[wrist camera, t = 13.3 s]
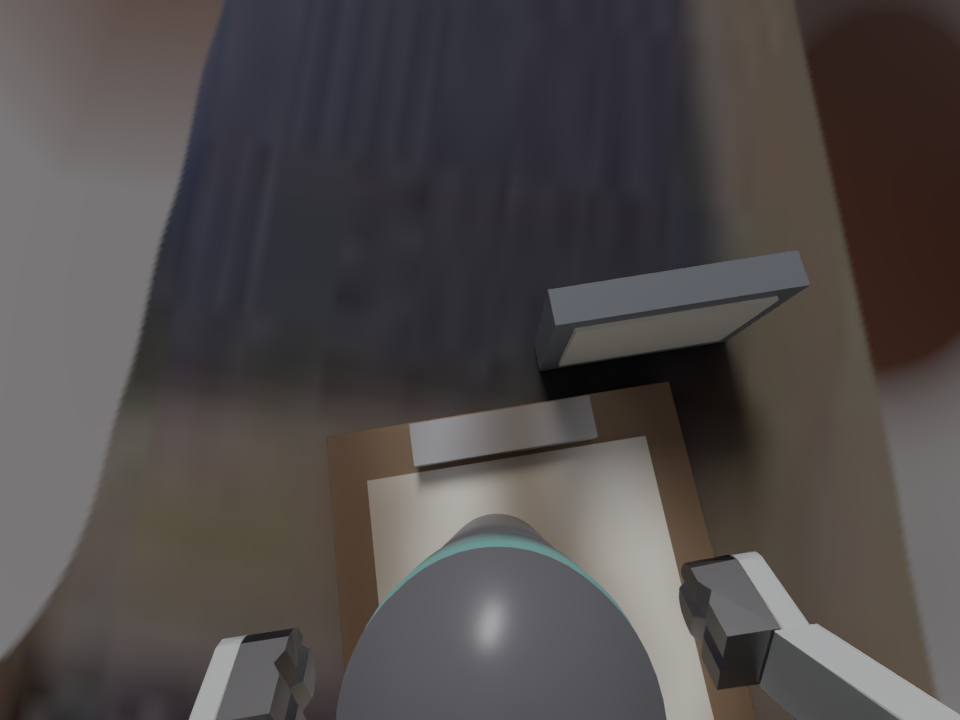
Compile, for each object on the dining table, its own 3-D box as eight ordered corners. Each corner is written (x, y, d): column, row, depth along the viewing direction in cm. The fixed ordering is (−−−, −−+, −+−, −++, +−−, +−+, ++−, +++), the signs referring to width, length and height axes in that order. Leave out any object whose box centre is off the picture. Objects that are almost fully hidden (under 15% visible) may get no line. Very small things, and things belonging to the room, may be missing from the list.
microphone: (450, 640, 18) (345, 972, 6) (435, 521, 19) (319, 573, 7) (563, 621, 18) (714, 909, 6) (542, 504, 19) (628, 523, 7)
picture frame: (539, 374, 21) (556, 330, 15) (534, 344, 22) (547, 290, 16) (726, 344, 21) (811, 289, 16) (717, 315, 22) (797, 250, 16)
